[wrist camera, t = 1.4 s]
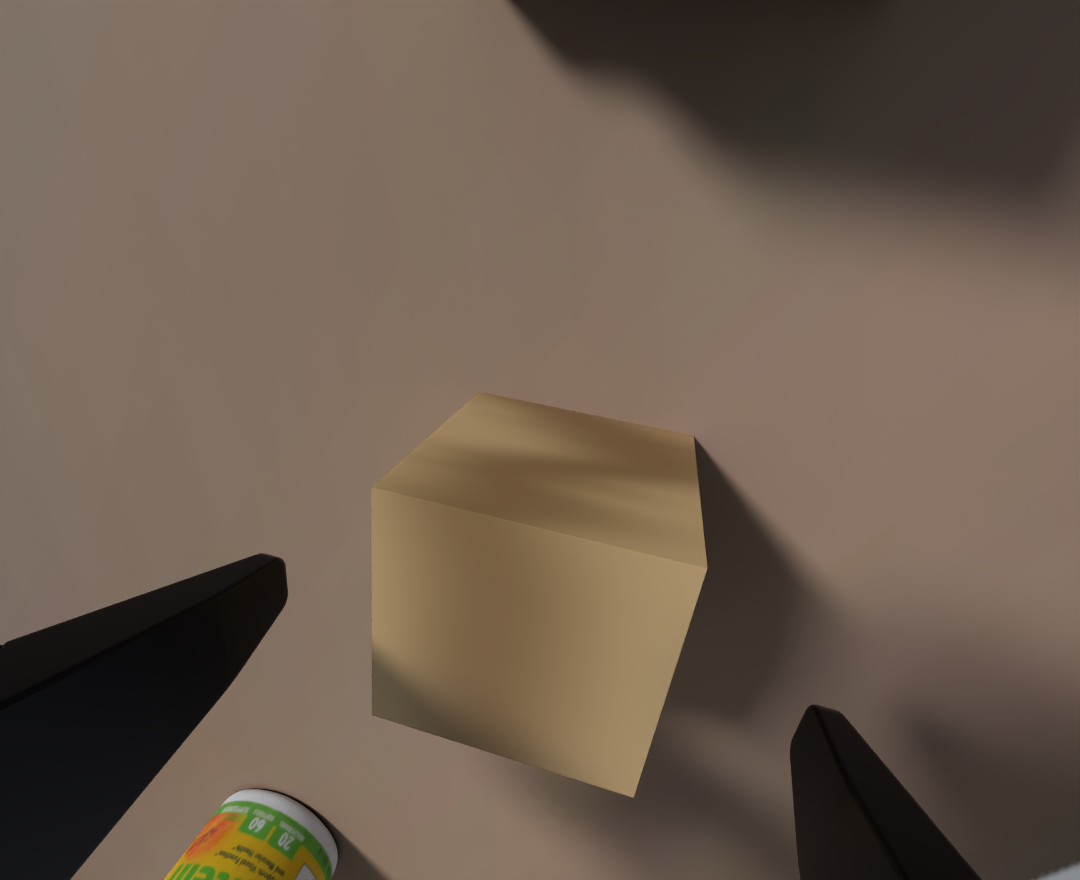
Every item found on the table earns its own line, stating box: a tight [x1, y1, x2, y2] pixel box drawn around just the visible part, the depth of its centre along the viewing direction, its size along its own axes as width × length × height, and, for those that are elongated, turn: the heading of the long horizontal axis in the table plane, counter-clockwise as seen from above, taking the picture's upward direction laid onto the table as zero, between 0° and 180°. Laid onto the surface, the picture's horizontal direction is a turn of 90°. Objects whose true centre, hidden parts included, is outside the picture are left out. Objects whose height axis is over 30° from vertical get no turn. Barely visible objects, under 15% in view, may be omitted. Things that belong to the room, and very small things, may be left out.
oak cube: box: [371, 392, 707, 798], centre depth 11 cm, size 5×5×5 cm
